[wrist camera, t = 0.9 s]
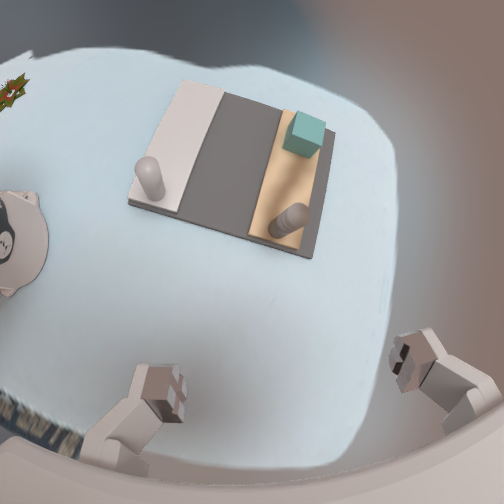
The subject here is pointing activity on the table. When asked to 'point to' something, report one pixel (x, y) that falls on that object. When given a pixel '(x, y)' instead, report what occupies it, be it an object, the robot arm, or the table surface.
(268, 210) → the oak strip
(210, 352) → the table surface
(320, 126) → the teal block
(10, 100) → the lily flower
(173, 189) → the pale board with post
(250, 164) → the lane mat
